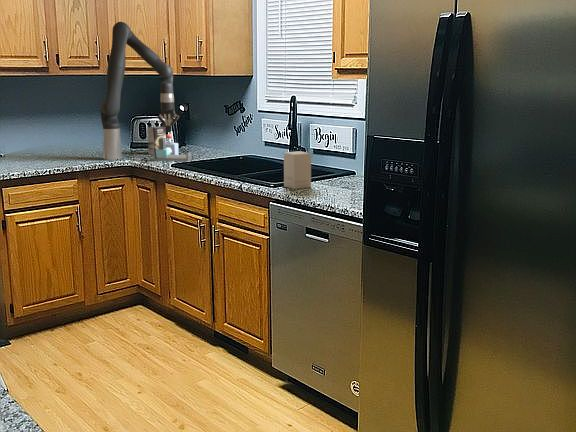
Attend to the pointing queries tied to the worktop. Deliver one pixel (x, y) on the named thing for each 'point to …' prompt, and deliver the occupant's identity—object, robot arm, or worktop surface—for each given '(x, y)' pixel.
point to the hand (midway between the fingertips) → (169, 132)
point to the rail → (188, 155)
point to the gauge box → (172, 148)
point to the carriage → (162, 149)
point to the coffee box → (155, 138)
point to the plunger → (169, 138)
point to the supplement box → (297, 169)
